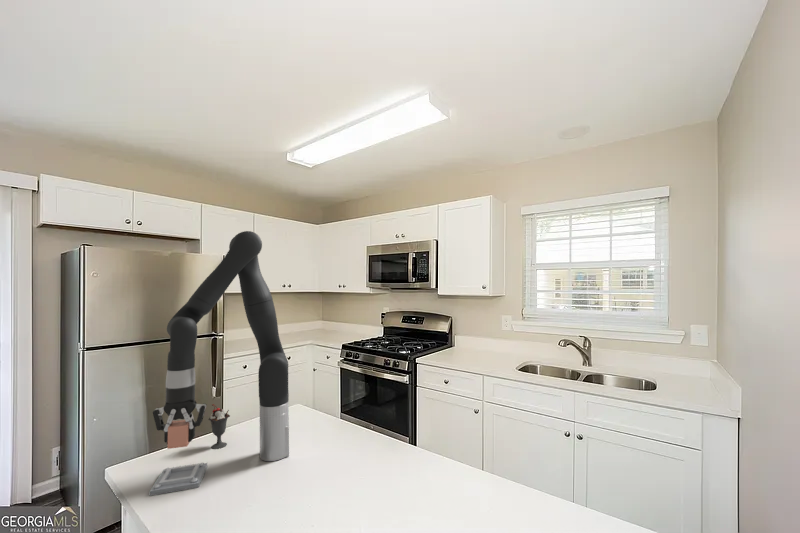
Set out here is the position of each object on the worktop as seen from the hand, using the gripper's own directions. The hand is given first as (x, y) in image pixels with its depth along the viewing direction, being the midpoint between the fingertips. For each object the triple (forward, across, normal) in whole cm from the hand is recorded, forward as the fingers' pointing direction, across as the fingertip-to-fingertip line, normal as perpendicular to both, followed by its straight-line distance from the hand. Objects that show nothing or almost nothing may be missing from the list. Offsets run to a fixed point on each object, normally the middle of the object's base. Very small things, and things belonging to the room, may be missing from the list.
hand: (179, 441), depth 107 cm
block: (+1, 0, 0) cm, 1 cm away
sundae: (+11, -7, -21) cm, 25 cm away
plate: (+11, 0, 0) cm, 11 cm away
